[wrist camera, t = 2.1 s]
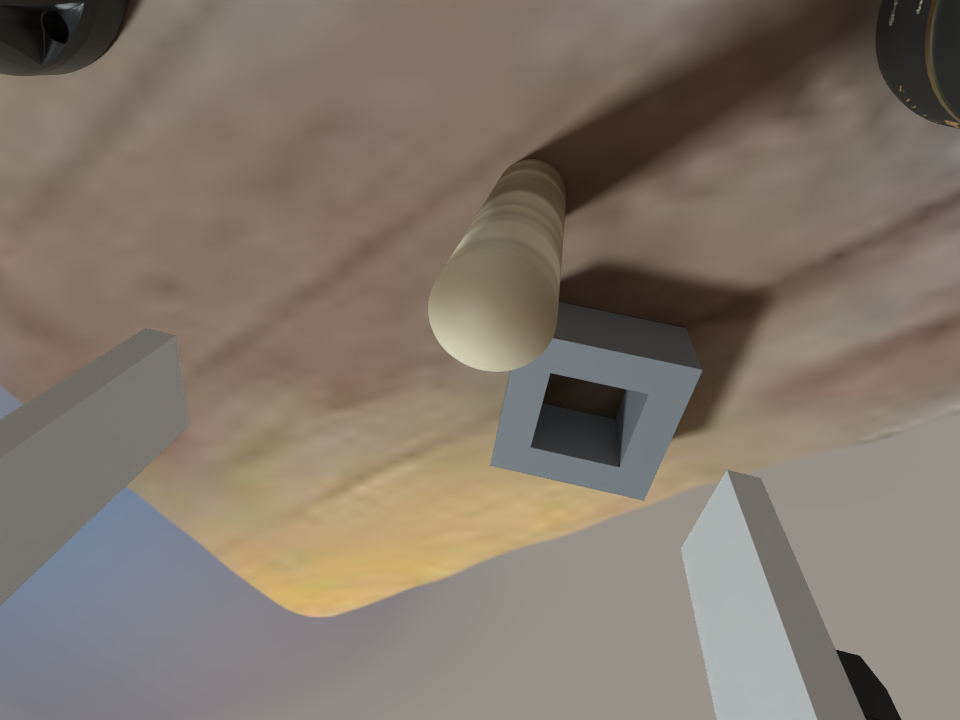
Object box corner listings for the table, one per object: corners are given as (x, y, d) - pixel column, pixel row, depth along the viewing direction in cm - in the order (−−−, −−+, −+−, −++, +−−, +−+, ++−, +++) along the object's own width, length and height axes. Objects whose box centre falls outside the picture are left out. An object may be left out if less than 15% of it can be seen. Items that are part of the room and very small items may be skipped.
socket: (527, 295, 33) (519, 331, 28) (686, 328, 32) (702, 369, 28) (499, 419, 38) (490, 465, 34) (636, 449, 37) (643, 500, 33)
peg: (502, 152, 29) (435, 240, 15) (574, 166, 28) (571, 268, 15) (490, 223, 31) (422, 357, 17) (557, 236, 31) (541, 383, 17)
